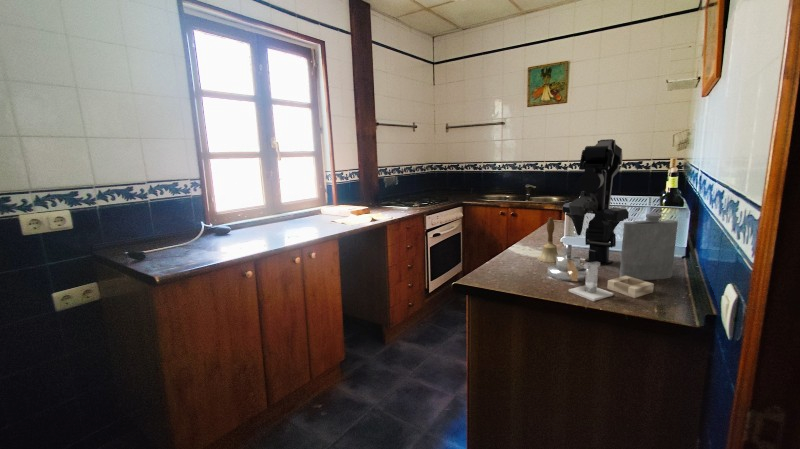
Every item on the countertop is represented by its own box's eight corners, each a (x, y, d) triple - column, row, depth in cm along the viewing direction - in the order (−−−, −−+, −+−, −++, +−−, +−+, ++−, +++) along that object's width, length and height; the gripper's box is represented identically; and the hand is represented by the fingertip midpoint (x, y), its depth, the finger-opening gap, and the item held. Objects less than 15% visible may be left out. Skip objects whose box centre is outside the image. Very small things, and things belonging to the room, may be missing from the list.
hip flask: (666, 274, 116) (673, 211, 112) (676, 278, 112) (683, 214, 108) (617, 276, 115) (622, 214, 111) (625, 281, 111) (631, 216, 107)
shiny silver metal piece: (592, 287, 105) (593, 260, 104) (601, 291, 103) (603, 263, 101) (579, 291, 103) (581, 263, 102) (589, 294, 101) (590, 266, 99)
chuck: (554, 264, 122) (555, 242, 121) (577, 265, 120) (579, 242, 119) (561, 282, 106) (562, 257, 105) (587, 284, 104) (589, 258, 102)
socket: (625, 283, 109) (626, 275, 109) (653, 292, 102) (653, 283, 102) (607, 288, 106) (607, 280, 106) (634, 297, 99) (635, 289, 98)
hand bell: (563, 263, 130) (566, 219, 127) (539, 262, 132) (540, 219, 129) (558, 256, 138) (560, 215, 135) (535, 256, 140) (537, 215, 137)
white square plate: (587, 286, 108) (588, 284, 108) (613, 295, 101) (613, 293, 101) (568, 291, 105) (568, 289, 105) (593, 301, 98) (593, 299, 98)
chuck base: (565, 266, 126) (565, 261, 126) (596, 276, 116) (597, 270, 115) (539, 272, 121) (539, 267, 121) (569, 283, 111) (569, 277, 110)
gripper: (550, 188, 115) (549, 236, 118) (605, 193, 99) (601, 249, 102) (575, 184, 120) (573, 231, 123) (631, 189, 103) (627, 242, 106)
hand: (591, 238), depth 113 cm, fingers open, 9 cm apart
